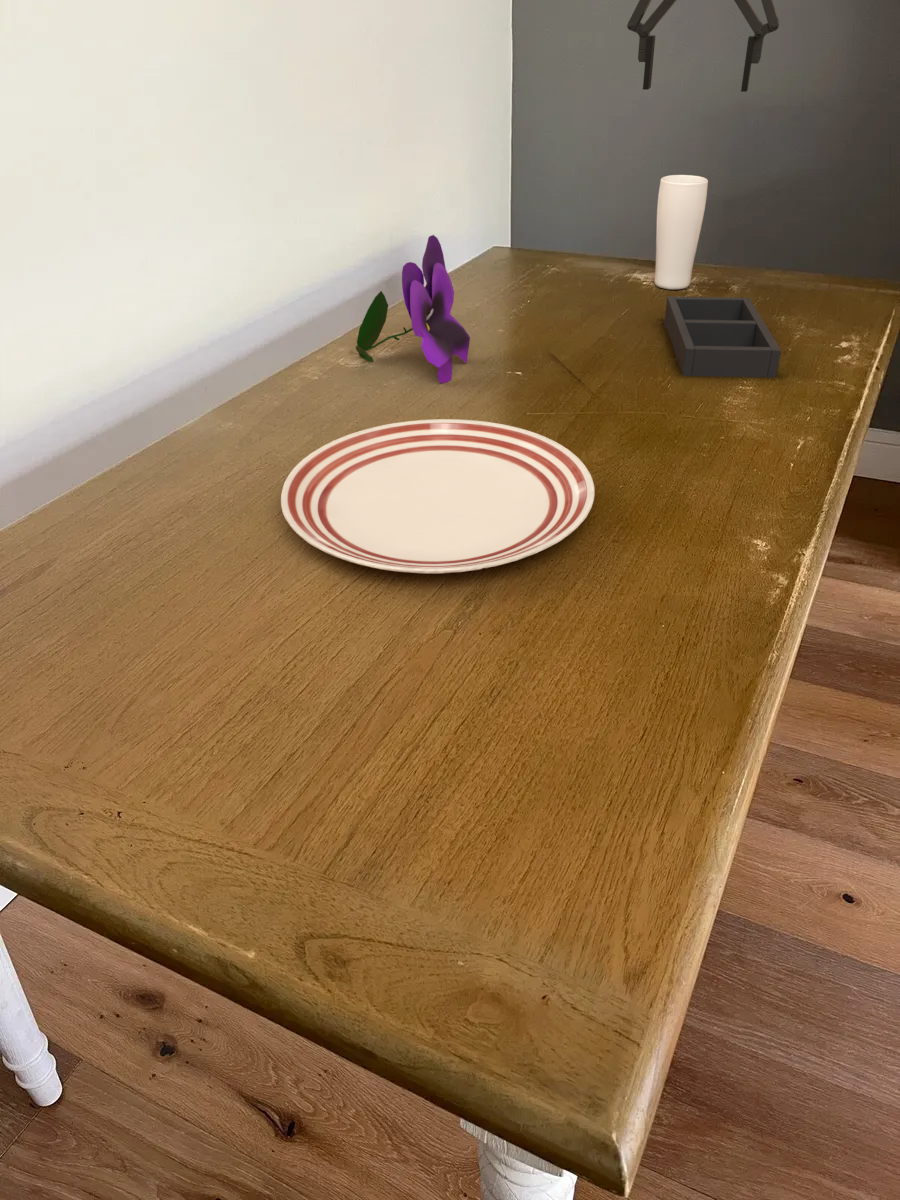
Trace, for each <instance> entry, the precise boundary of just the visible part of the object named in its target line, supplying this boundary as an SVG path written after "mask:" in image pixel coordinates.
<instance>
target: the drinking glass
mask: <svg viewBox="0 0 900 1200" xmlns="http://www.w3.org/2000/svg"><path fill="white" fill-rule="evenodd" d="M659 181H660V182H659V188H658V195H657V206H656V208H657V209H656V231H655V232H656V233H655V234H656V237H655V238H656V239H655V265H654V266H655V268H654V269H655V270H654V279H653V282H654V285H655V286H656V287H658V288H660V289H663V290H670V291H679V290H684V289H687V288H688V287H689V286H690V285H691V281H692V274H693V268H694V263H695V259H696V255H697V254H696V253H697V249H698V243H699V240H700V235H701V230H702V227H703V221H704V216H705V210H706V206H707V205H706V203H707V199H708V198H707V197H708V186H709V180H708V179H707V178H706V177H703V176H699V175H693V174H672V175H666V176H662V177H661V178H660V180H659Z"/></svg>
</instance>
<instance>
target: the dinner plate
mask: <svg viewBox="0 0 900 1200" xmlns="http://www.w3.org/2000/svg"><path fill="white" fill-rule="evenodd" d="M595 493H596V492H595V484H594V480H593V476H592V475H591V473H590V471H589V469H588V468H587V466H586V465H585V464H584V463H583V461H582V460H581V459H580V458H579V457H578V456H577V455H576V454H575V453H574V452H572V451H571V450H569V449H568V448H566V447H565V446H564V445H562V444H560V443H559V442H557V441H555V440H553V439H551V438H550V437H549V438H548V437H546V436H544V435H542V434H539V433H536V432H534V431H531V430H527V429H524V428H521V427H516V426H513V425H509V424H502V423H497V422H492V421H483V420H475V419H474V420H473V419H456V418H455V419H454V418H453V419H451V418H439V419H437V418H435V419H433V418H432V419H418V420H409V421H400V422H393V423H387V424H382V425H378V426H373V427H369V428H366V429H362V430H359V431H356V432H353V433H349V434H347V435H344V436H341V437H339V438H336V439H334V440H332V441H330V442H328V443H326V444H325V445H323V446H321V447H319V448H317V449H316V450H313V451H312V452H311V453H310V454H308V455H306V457H304V458H303V459H301V460H300V461H299V462H298V463H297V464H296V465H295V466H294V467H293V469H292V470H291V471H290V473H289V474H288V476H287V477H286V479H285V480H284V483H283V486H282V489H281V494H280V507H281V511H282V514H283V517H284V519H285V521H286V523H288V525H289V526H290V528H291V529H292V530H293V531H294V532H295V533H296V535H298V536H299V537H300V538H301V539H302V540H304V541H305V542H306V543H308V544H309V545H310V546H313V547H314V548H316V549H318V550H320V551H322V552H324V553H325V554H328V555H329V556H332V557H335V558H338V559H340V560H343V561H346V562H349V563H352V564H356V565H359V566H363V567H368V568H372V569H376V570H377V569H378V570H384V571H391V572H396V573H397V572H399V573H411V574H451V573H463V572H470V571H471V572H472V571H478V570H479V571H480V570H482V569H489V568H492V567H493V568H494V567H498V566H502V565H505V564H509V563H512V562H516V561H519V560H522V559H525V558H528V557H530V556H533V555H535V554H538V553H539V552H542V551H544V550H547V549H548V548H550V547H552V546H554V545H556V544H558V543H559V542H561V541H562V540H564V539H565V538H566V537H568V536H570V535H571V534H572V533H573V532H574V531H575V530H577V529H578V528H579V527H580V525H581V524H582V523H583V522H584V521H585V520H586V519H587V517H588V515H589V513H590V511H591V509H592V508H593V504H594V501H595Z"/></svg>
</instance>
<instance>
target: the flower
mask: <svg viewBox="0 0 900 1200" xmlns="http://www.w3.org/2000/svg"><path fill="white" fill-rule="evenodd" d="M401 287H402V288H401V289H402V296H403V300H404V304H405V307H406V310H407V313H408V315H409V319H410V321H411V328H409V329H406V327H405V326H403V330H404V332H401V333H397V334H393V335H389V336H387V337H386V338H384V339H383V340H381V341H379V342H377V340H378V339H379V337H380V334H381V332H382V330H383V328H384V326H385V323H386V321H387V316H388V310H389V304H388V301H387V298H386V295H385V294H384V293H383V291H382V290H380V291H379V292H378V293H377V294H376V295H375V297H374V299H372V302H371V303H370V304H369V306H368V308H367V311H366V313H365V315H364V317H363V320H362V321H361V325H360V327H359V328H358V329H359V330H358V334H357V339H356V345H355V350H356V352H357V353H358V356H359V357H360V358H361V359H362V360H365V361H367V362H370V363H373V361H374V358H373V356H371V355H370V354H369V353H368V351H370V350H372V349H375V348H376V347H378V346H380V345H381V344H384V343H385V342H387V341H388V340H390V339H393V340H396V341H400V338H399V337H401V336H404V335H406V334H408V333H410V332H412V331H413V334H414V336H416V337H419V338H422V340H421V345H420V347H421V350H422V352H423V354H424V356H425V359H426V361H427V362H428V363H430V364H431V365H433V366H435V367H437V368H438V369H437V376H436V377H437V379H438V381H439V383H440V384H446V383H447V384H448V383H449V382H450V381H451V380H452V378H453V360H452V359H453V356H458V357H459V358H460V359H461V361H463V362H464V363H465V364H467V361H468V357H469V356H468V355H469V349H470V341H471V336H470V335H469V333H468V332H467V330H466V329H465V327H464V326H463V325H462V324H461V323H460V322H459V321H458V320H457V319H456V318H455V317H454V316H453V315H452V314H451V312H452V309H453V305H454V302H455V301H454V300H455V290H454V286H453V283H452V279H451V277H450V275H449V273H448V271H447V268H446V262H445V257H444V252H443V248H442V244H441V243H440V241H439V238H438V237H437V236H435V234H432V235H430V236H428V239H427V243H426V247H425V251H424V253H423V256H422V262H421V268H420V267H419V266H418V264H417V263H415V262H412V261H409V262H406V263H405V264H404V265H402V270H401ZM376 342H377V343H376Z"/></svg>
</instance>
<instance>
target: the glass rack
mask: <svg viewBox="0 0 900 1200" xmlns="http://www.w3.org/2000/svg"><path fill="white" fill-rule="evenodd" d="M663 329H666V330H667V333H668V336H669V339H670V343H671V345H672V348H673V352H674V354H675V357H676V361H677V363H678V366H679V369H680V372H681V375H682V376H683V377H726V378H727V377H732V378H733V377H734V378H777V375H778V370H779V363H780V359H781V353H782V349H781V348H780V346H779V344H778V342H777V341H776V339H775V337H774V336H773V335H772V332H771V331H770V330H769V328H768V326H767V324H766V323H765V321H764V320H763V318H762V317H761V315H760V312H759V311H758V310H757V308H756V307H755V305H754V303H753V301H752V300H751V298H750V297H736V296H735V297H734V296H733V297H732V296H731V297H729V296H728V297H727V296H667V297H666V305H665V312H664V321H663Z"/></svg>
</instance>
